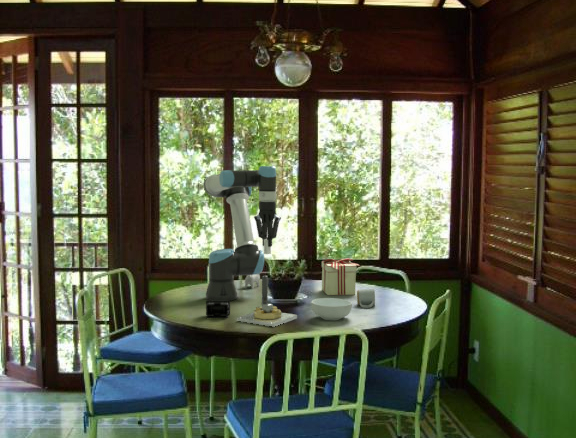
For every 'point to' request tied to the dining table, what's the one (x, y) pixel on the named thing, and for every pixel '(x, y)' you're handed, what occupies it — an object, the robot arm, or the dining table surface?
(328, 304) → the cereal bowl
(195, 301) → the dining table surface
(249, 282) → the dog figurine
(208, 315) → the end cap
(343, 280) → the gift box
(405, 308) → the dining table surface
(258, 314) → the gold and grey piece
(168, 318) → the dining table surface
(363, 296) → the ceramic mug
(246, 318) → the housing
